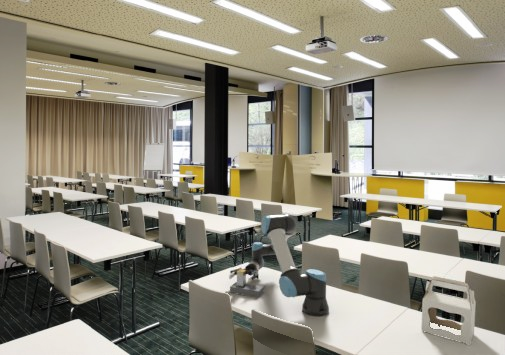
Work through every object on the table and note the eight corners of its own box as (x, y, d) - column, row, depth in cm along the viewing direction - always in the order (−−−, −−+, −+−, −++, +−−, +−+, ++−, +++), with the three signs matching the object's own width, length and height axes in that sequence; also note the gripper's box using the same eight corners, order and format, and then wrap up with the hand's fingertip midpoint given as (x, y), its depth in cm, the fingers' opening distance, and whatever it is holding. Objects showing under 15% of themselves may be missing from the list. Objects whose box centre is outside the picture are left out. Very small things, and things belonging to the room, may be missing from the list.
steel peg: (246, 290, 246) (245, 270, 245) (243, 293, 242) (243, 272, 241) (239, 289, 248) (239, 269, 247) (236, 292, 244) (236, 271, 243)
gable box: (420, 331, 193) (422, 278, 191) (427, 321, 203) (429, 271, 201) (470, 345, 179) (473, 288, 177) (474, 334, 190) (477, 280, 187)
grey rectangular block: (263, 292, 244) (263, 286, 243) (258, 297, 236) (258, 291, 235) (236, 287, 251) (235, 282, 251) (230, 292, 243) (230, 286, 243)
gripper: (268, 276, 256) (257, 286, 237) (235, 271, 266) (222, 281, 246) (268, 265, 256) (257, 275, 236) (235, 261, 265) (221, 270, 246)
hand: (239, 278), depth 241 cm, fingers open, 13 cm apart
